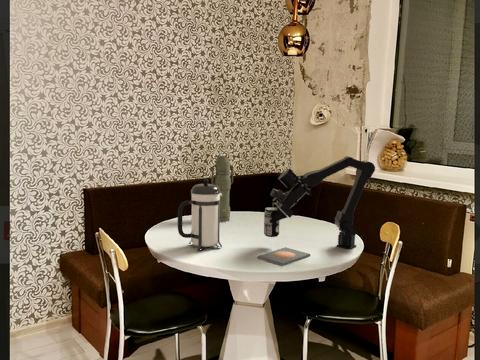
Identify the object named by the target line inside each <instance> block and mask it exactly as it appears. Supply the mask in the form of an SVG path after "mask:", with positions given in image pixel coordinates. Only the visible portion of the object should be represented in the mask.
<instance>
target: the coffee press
mask: <svg viewBox="0 0 480 360" xmlns="http://www.w3.org/2000/svg"><path fill="white" fill-rule="evenodd" d="M202 182H203V183H198V184H194V186H192V188H191V190H190V195H191V199H190V200H184V201H182V202H181V203H180V204H179V206H178V208H177V231H178V234H179V235H180V237H182V238H185V239H190V241H189V243H188V245H189V244H192V245H191V246H193V245H194V246H196V247H197V251H198V250H200V249H202V250H203V248H205V247H206V248H207V247H213V246H215V247H217V248H218V247H221V248H222V247H223V245H222V244H221V242H220V225H221V222H220V196H222V193H221V190H220V189H219V187H218V186H216V185H214V184H212V183H209V179H208V178H204V179H203V180H202ZM188 205H191V232H190V233H184V231H183V210H184V208H185V207H186V206H188Z"/></svg>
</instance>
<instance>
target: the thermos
mask: <svg viewBox="0 0 480 360" xmlns="http://www.w3.org/2000/svg"><path fill="white" fill-rule="evenodd" d="M214 171H215V173H214ZM233 183H234V167H233V165H231V163H230V159H229V156H227V155H219V156H217V157H216V160H215V164H213V165H212V166H211V184H214V185H216V186H218V187H219V189H220V190H221V193H222V196H220V221H228V222H230V221H229V220H231V218H230V217H231V207H230V191H231V185H233Z"/></svg>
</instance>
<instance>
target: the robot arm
mask: <svg viewBox="0 0 480 360" xmlns="http://www.w3.org/2000/svg"><path fill="white" fill-rule="evenodd" d="M349 167H351V168H353V169H356V171H355V179H354V182H353V185H352V187H351V190H350V193H349V194H348V197H347V199H346V202H345V204H344V207H343V209H342V210H341V211H340V210H337V211H336V215H335V217H334V224H335V226H336V227H337V229H338V231H339V234H338V237H337V244H336V247H339V248H343V249H346V250H347V249H348V250H351V249H354V248H356V247H357V245H356V244H355V242H356V234H357V232H358V230H357V229H356V228H355V227H354V226H353V224H354V223H353V222H354V212H355V210H356V207H357V206H358V203H359V200H360V197H361V195H362V193H363V191H364V188H365V186H366V183H367V182H368V181H369V180H370V179H371V177H372V176H373V175H374V173H375V171H376V166H375V164H374V163H373V162H371V161H367V160H358V159H355V158H353V157H351V156H344V157H343V158H341V159H339V160H337V161H335V162H333V163H331V164H329V165H326V166H324V167H322V168H320V169H316V170H312V171H307V172H305V173H304V174H303V175H297V174H296V173H295V172H294V171H293V170H292V169H291V168H288V169H286V170H285V171H283V172H282V173H281V174H280V175H279V177H278V178H277V179H278V180H279V181H280V182H281V183H282V184H283V185H284V187H286V188H287V189H289V188H290V190H288V191H285V192H283V190H281V189H276V188H272V190H271V191H270V193H269V196H271V197H272V198H273V199H272V207H275V208H277V212H276V213H275V214H274V216H273V217H272V218H271V220H270V221H269V222H270V223H273V222H276V221H279V222H280V221H282V220H284V219H288V218H289V219H291V217H293V216H294V212H293V211H292V207H294V206H295V205H297V204H299V200H301V198H303V197H304V196H305V195H306V194H307V195H308V196H312V189H311V188H314V187H317V185H319V184H320V183H322V182H323V180H325V179H326V178H328V177H330V176H333V175H335V174H337V173H338V172H340V171H342V170H345V169H347V168H349ZM308 187H309V188H308Z"/></svg>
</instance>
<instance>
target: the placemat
mask: <svg viewBox="0 0 480 360" xmlns="http://www.w3.org/2000/svg"><path fill="white" fill-rule="evenodd" d="M309 257H311V253H309V252H305V251H300V250H297V249H293V248H290V247H282V248H279V249H275V250H272V251H270V252H266V253H262V254H259V255H257V259H258V260H262V261H265V262H269V263H273V264H276V265H279V266H282V267H283V266H284V267H285V266H286V265H289V264H292V263H294V262H295V263H296V262H298V261H300V260H304V259H306V258H309Z"/></svg>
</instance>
